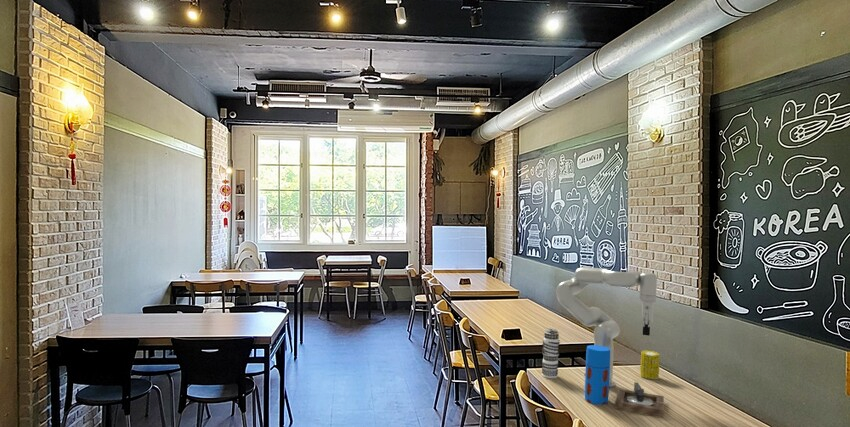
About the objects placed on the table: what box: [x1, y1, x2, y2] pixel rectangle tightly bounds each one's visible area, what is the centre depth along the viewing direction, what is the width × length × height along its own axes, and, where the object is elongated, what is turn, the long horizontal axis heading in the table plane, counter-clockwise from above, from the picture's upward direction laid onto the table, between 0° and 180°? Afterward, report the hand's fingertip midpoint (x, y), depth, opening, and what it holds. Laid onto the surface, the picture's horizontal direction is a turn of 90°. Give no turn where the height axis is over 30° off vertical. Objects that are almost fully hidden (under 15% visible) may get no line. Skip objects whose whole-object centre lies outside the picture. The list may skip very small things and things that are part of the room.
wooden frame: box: [614, 388, 665, 418], centre depth 251 cm, size 20×20×3 cm
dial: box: [627, 381, 654, 406], centre depth 253 cm, size 16×12×6 cm
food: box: [639, 349, 661, 380], centre depth 294 cm, size 15×12×10 cm
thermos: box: [584, 344, 610, 406], centre depth 255 cm, size 11×11×25 cm
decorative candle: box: [541, 328, 561, 379], centre depth 291 cm, size 9×9×25 cm
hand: (646, 334), depth 268 cm, fingers closed
